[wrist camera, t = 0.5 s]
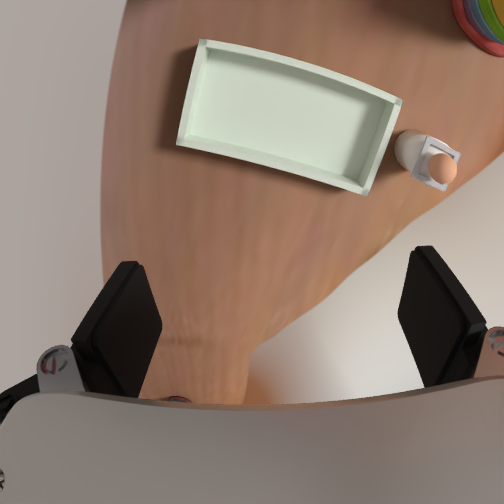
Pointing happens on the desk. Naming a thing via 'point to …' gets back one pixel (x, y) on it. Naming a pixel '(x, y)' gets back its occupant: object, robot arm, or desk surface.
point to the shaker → (421, 154)
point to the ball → (442, 168)
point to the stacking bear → (482, 23)
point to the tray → (286, 115)
